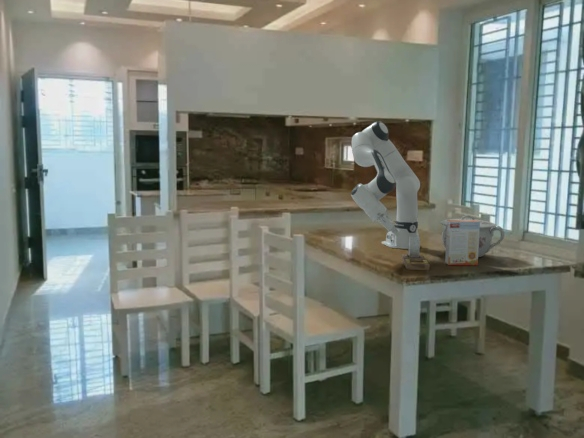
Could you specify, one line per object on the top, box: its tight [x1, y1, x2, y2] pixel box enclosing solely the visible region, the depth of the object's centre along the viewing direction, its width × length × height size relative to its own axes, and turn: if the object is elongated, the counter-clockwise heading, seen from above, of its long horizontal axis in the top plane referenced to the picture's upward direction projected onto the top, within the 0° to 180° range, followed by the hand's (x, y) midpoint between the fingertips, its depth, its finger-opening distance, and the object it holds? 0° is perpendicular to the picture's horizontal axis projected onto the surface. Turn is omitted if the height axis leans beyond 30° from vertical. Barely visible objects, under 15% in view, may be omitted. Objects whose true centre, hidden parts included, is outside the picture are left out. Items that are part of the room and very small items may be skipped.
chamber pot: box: [439, 214, 505, 258], centre depth 292 cm, size 28×28×21 cm
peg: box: [407, 236, 421, 258], centre depth 275 cm, size 4×4×12 cm
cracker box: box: [444, 219, 480, 266], centre depth 270 cm, size 14×6×21 cm, turn 92°
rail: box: [401, 253, 431, 271], centre depth 269 cm, size 24×10×3 cm, turn 174°
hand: (397, 234), depth 275 cm, fingers open, 8 cm apart
